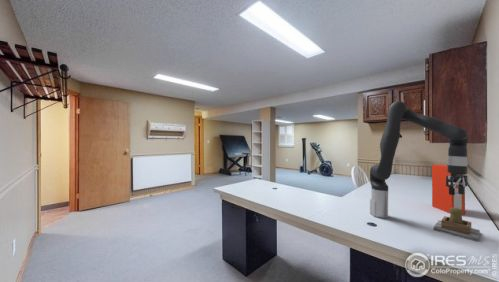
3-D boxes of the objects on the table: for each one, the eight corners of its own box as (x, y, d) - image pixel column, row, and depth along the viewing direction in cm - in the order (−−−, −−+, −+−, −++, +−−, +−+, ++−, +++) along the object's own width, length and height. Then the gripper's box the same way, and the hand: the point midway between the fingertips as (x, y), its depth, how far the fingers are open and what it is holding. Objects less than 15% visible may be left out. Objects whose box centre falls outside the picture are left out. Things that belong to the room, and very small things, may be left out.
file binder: (451, 214, 133) (451, 167, 133) (431, 206, 150) (432, 164, 150) (465, 215, 132) (465, 167, 132) (443, 207, 149) (443, 164, 149)
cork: (444, 226, 110) (445, 206, 110) (454, 225, 110) (454, 206, 110) (457, 231, 103) (457, 210, 104) (467, 230, 104) (467, 209, 104)
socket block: (477, 241, 95) (477, 230, 95) (433, 229, 108) (433, 219, 108) (479, 232, 105) (479, 222, 105) (438, 222, 118) (438, 213, 118)
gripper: (458, 165, 101) (457, 197, 101) (474, 165, 105) (473, 195, 105) (440, 164, 108) (439, 193, 108) (456, 163, 112) (455, 192, 112)
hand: (456, 194), depth 107 cm, fingers open, 8 cm apart
